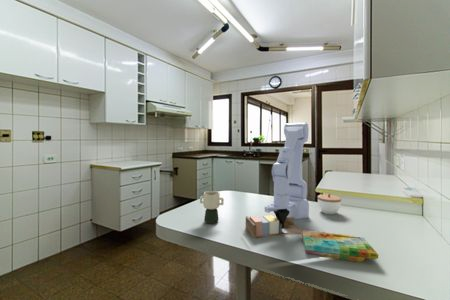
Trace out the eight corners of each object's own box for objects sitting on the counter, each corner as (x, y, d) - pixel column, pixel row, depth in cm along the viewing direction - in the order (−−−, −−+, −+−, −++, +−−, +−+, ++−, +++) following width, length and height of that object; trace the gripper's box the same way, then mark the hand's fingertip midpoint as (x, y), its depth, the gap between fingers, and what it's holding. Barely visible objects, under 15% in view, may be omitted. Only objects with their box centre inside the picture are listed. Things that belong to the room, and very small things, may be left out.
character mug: (225, 220, 98) (225, 191, 97) (221, 226, 91) (221, 195, 90) (202, 217, 101) (202, 190, 100) (196, 223, 94) (196, 193, 93)
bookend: (280, 226, 89) (280, 217, 89) (288, 233, 83) (288, 223, 82) (272, 227, 88) (272, 218, 88) (279, 234, 82) (280, 224, 82)
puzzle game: (301, 228, 79) (363, 234, 74) (301, 240, 79) (363, 248, 74) (305, 242, 68) (378, 251, 63) (304, 257, 68) (377, 267, 63)
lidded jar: (312, 210, 113) (313, 192, 112) (329, 208, 116) (329, 190, 116) (328, 217, 103) (328, 197, 102) (345, 214, 106) (346, 195, 106)
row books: (262, 228, 87) (262, 215, 86) (268, 235, 81) (269, 220, 81) (249, 230, 86) (249, 216, 85) (255, 236, 80) (255, 222, 79)
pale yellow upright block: (271, 227, 88) (272, 215, 88) (278, 233, 82) (279, 220, 82) (262, 228, 87) (262, 215, 87) (269, 234, 81) (269, 221, 81)
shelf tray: (292, 225, 92) (292, 212, 92) (305, 234, 83) (305, 220, 83) (245, 230, 87) (245, 216, 87) (253, 240, 79) (253, 225, 78)
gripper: (288, 189, 91) (287, 221, 92) (259, 193, 85) (259, 227, 85) (301, 193, 85) (300, 227, 86) (271, 197, 78) (271, 234, 79)
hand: (280, 227), depth 85 cm, fingers closed
